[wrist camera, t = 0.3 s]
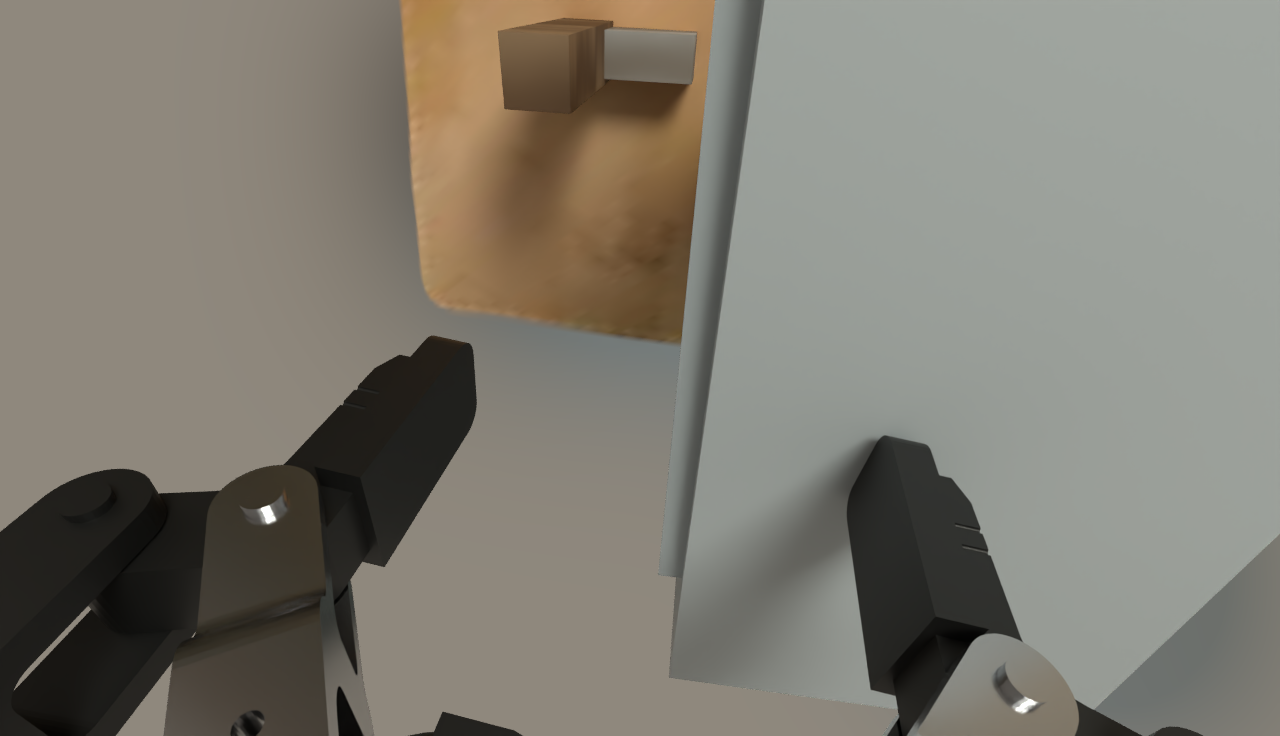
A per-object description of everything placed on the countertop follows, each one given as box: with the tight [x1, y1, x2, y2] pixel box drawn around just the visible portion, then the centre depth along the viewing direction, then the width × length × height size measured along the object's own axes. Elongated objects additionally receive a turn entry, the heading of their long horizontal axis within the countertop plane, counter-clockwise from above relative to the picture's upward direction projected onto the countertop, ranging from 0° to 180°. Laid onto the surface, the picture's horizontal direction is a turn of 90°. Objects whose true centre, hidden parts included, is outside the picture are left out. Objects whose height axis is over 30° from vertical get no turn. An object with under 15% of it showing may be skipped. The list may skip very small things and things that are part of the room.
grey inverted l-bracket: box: [658, 0, 1280, 710], centre depth 22 cm, size 22×12×30 cm, turn 177°
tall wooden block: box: [498, 18, 697, 114], centre depth 29 cm, size 3×8×12 cm, turn 87°
